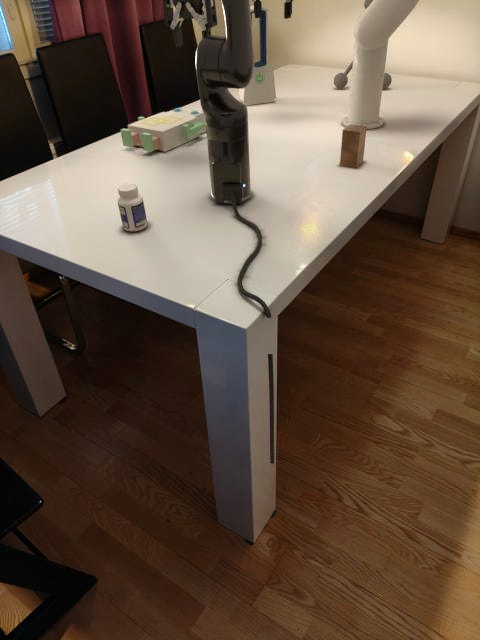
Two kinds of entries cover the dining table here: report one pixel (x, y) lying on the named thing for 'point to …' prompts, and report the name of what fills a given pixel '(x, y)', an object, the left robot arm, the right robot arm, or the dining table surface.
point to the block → (353, 145)
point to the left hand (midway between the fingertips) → (192, 46)
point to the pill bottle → (131, 208)
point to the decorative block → (164, 130)
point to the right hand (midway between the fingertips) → (272, 17)
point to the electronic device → (260, 70)
